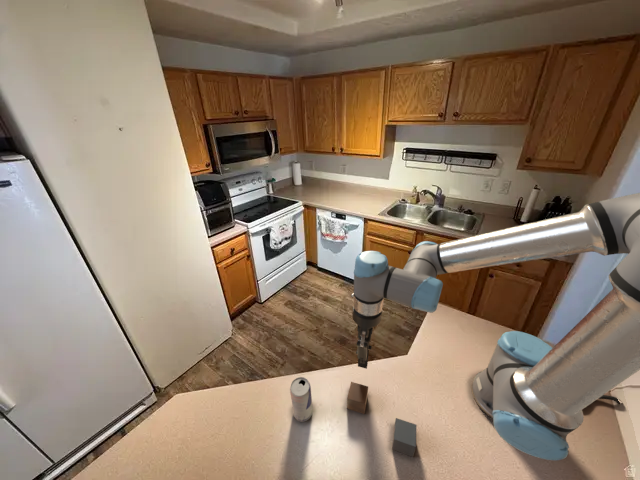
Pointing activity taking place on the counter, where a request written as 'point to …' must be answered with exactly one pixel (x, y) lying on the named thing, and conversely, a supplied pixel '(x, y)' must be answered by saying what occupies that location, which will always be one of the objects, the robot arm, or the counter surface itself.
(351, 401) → the walnut block
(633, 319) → the robot arm
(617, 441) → the counter surface
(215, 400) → the counter surface
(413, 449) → the grey block
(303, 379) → the energy drink
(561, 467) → the counter surface
